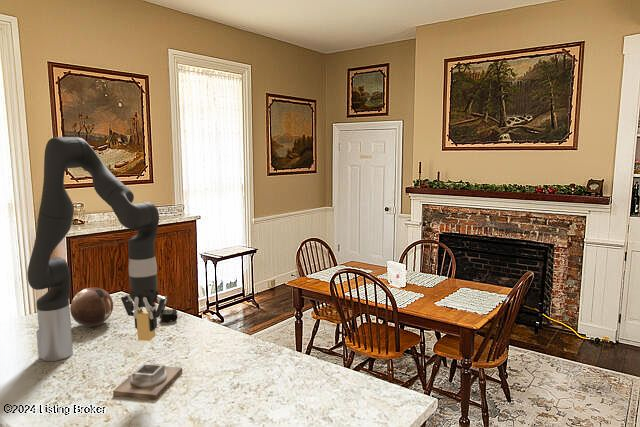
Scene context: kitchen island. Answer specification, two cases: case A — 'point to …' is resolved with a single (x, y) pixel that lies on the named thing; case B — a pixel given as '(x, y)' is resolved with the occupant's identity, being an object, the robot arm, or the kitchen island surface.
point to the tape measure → (169, 315)
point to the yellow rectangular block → (144, 326)
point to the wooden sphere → (91, 307)
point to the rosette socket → (148, 381)
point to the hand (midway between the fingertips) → (146, 329)
